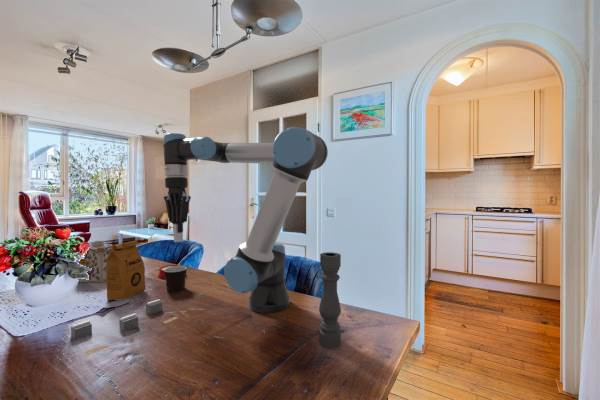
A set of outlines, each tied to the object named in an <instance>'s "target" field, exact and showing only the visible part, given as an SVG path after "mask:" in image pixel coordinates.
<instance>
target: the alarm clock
mask: <svg viewBox="0 0 600 400" xmlns="http://www.w3.org/2000/svg"><path fill="white" fill-rule="evenodd" d="M174 266H179V264H177V265H176V264H172V265H171V264H170V265H164V266H161V267H160V268H159V269H158V272H159V273H158V275H157V277H158V278H159V279H165V274H164V269H166V268H169V267H174ZM155 271H157V269H155Z"/></svg>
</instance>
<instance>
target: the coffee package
mask: <svg viewBox="0 0 600 400" xmlns="http://www.w3.org/2000/svg"><path fill="white" fill-rule="evenodd" d="M112 245H113V246H112V249H111V251H110V254H109V256H108V259H107V265H106V283H105V284H106V300H107V301H119V300H126V299H128V298H130V297H133V296H136V295H140V294H143V293H145V291H146V290H147V289H146V273H145V272H146V269H145V268H146V267H145V262H144V260H143V258H142V256H141V254H140V252H139V250H138V247H137V245H138V240H137V239H134V240H131V241H127V242H122V243H118V244H112Z"/></svg>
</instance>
